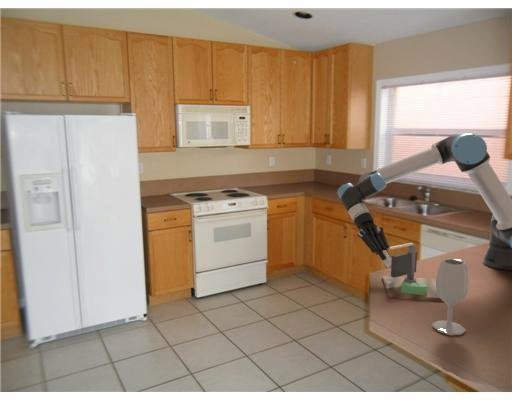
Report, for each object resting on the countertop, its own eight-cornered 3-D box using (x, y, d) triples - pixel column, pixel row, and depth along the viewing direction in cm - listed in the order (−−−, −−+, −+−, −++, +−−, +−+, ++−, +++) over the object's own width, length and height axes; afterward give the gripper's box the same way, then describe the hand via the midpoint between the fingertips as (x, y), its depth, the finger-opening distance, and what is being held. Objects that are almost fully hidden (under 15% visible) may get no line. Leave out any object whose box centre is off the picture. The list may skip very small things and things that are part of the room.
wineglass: (426, 326, 124) (430, 259, 121) (447, 320, 127) (452, 255, 124) (449, 339, 116) (455, 267, 113) (471, 333, 119) (477, 263, 116)
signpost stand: (409, 278, 161) (411, 240, 158) (418, 281, 157) (421, 243, 154) (383, 285, 153) (385, 245, 151) (393, 288, 150) (395, 248, 147)
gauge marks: (428, 291, 148) (428, 283, 147) (426, 296, 143) (426, 288, 143) (387, 284, 154) (388, 277, 154) (384, 289, 150) (385, 281, 149)
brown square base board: (432, 281, 161) (432, 278, 161) (446, 301, 142) (446, 298, 142) (382, 278, 165) (382, 275, 164) (389, 297, 145) (389, 294, 145)
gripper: (367, 220, 175) (396, 268, 164) (344, 223, 169) (373, 273, 157) (377, 209, 170) (408, 258, 159) (354, 213, 164) (384, 264, 152)
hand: (391, 266), depth 158 cm, fingers closed
